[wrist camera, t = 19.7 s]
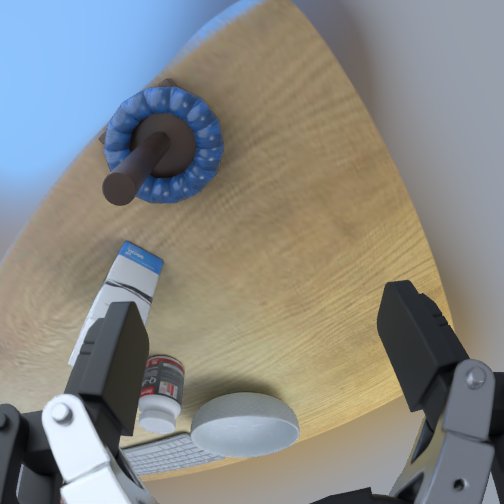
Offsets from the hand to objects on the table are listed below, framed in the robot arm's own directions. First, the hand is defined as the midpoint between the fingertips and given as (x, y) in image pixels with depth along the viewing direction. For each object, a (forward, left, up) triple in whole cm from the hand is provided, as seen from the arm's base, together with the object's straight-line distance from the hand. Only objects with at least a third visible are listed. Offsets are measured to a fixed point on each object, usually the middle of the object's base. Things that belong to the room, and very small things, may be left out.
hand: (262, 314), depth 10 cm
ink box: (+18, +4, -21) cm, 28 cm away
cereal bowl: (+23, +33, -21) cm, 46 cm away
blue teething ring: (+5, -5, -18) cm, 20 cm away
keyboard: (+60, +42, -21) cm, 76 cm away
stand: (+5, -5, -21) cm, 22 cm away
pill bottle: (+26, +18, -21) cm, 38 cm away
